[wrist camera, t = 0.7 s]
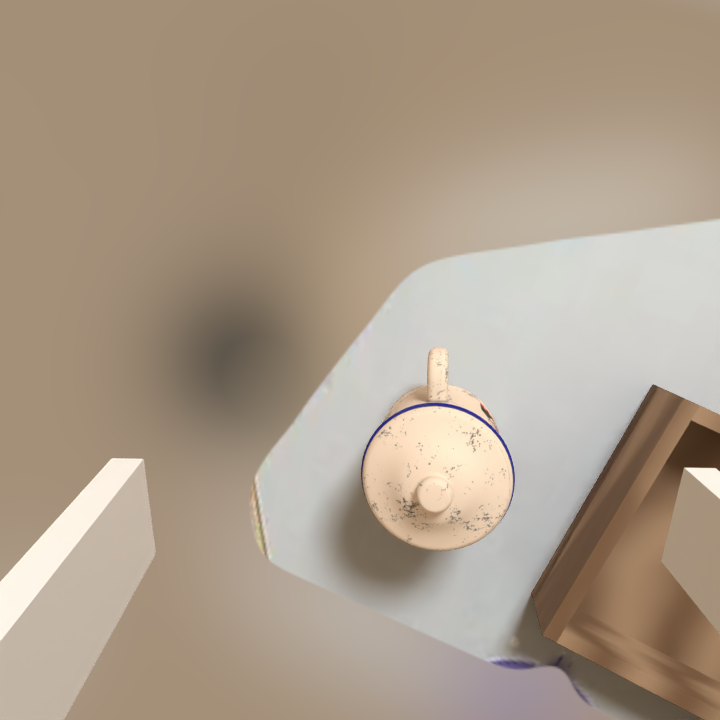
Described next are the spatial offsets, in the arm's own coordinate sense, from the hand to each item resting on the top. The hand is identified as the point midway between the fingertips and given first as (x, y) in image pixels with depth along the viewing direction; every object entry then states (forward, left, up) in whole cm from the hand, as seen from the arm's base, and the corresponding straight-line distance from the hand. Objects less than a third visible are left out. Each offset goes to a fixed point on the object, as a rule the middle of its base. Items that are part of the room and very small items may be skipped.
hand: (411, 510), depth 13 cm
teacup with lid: (-2, +4, -27) cm, 27 cm away
